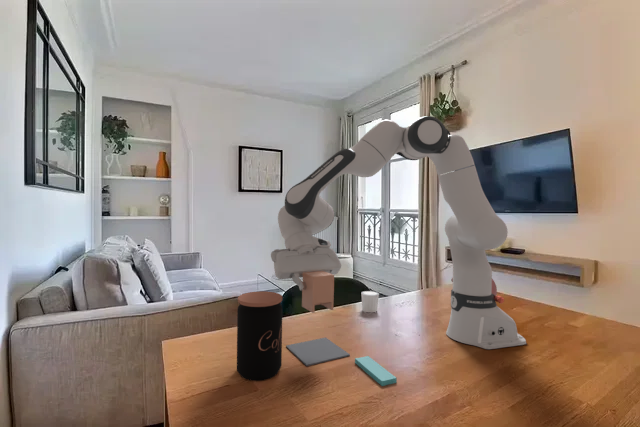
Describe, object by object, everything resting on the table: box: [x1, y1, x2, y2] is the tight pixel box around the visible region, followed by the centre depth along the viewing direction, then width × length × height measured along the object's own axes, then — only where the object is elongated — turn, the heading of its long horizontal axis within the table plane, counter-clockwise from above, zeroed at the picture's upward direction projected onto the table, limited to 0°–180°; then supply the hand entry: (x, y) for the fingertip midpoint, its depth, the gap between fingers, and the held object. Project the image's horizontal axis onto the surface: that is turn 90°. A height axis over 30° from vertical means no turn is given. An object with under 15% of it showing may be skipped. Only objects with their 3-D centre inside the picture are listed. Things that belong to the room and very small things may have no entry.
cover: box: [301, 271, 335, 314], centre depth 91 cm, size 6×6×10 cm
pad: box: [285, 337, 351, 367], centre depth 91 cm, size 13×13×1 cm
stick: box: [354, 355, 398, 387], centre depth 80 cm, size 4×12×2 cm, turn 24°
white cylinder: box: [360, 290, 380, 313], centre depth 128 cm, size 7×7×7 cm
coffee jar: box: [236, 291, 283, 382], centre depth 79 cm, size 11×11×18 cm
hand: (316, 287), depth 91 cm, fingers closed on cover, 6 cm apart
